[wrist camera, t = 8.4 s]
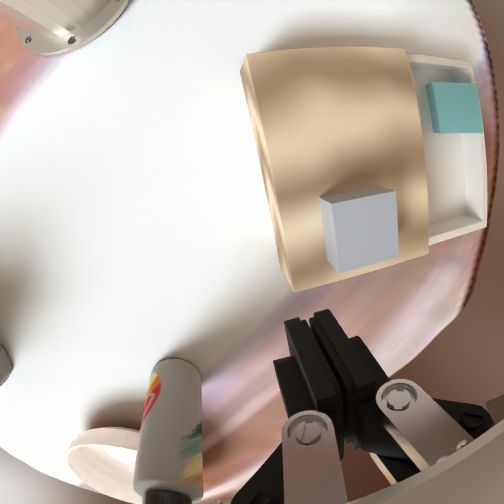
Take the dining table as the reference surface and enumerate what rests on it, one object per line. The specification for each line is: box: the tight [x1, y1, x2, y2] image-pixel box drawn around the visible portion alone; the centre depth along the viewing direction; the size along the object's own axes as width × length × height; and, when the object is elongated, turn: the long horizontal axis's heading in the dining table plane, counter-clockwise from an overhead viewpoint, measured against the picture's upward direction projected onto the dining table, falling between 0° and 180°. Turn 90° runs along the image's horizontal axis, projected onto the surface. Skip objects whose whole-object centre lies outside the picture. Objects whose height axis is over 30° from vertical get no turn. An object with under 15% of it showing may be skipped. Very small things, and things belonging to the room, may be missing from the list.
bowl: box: [66, 427, 142, 504], centre depth 33 cm, size 20×20×6 cm
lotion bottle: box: [133, 359, 203, 504], centre depth 22 cm, size 6×6×20 cm
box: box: [406, 53, 487, 245], centre depth 24 cm, size 18×10×4 cm, turn 12°
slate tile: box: [319, 186, 399, 273], centre depth 21 cm, size 5×5×2 cm
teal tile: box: [425, 82, 483, 133], centre depth 22 cm, size 5×5×2 cm
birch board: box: [240, 46, 429, 293], centre depth 23 cm, size 18×13×5 cm
